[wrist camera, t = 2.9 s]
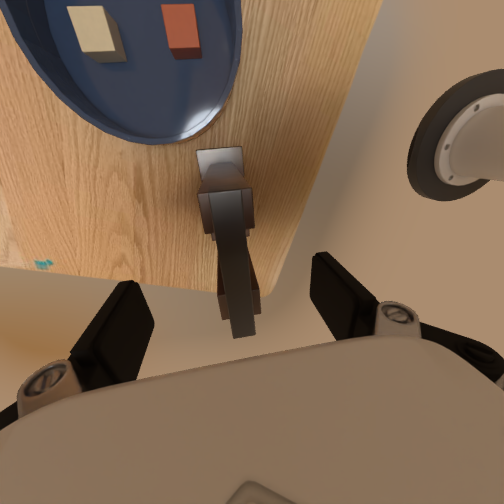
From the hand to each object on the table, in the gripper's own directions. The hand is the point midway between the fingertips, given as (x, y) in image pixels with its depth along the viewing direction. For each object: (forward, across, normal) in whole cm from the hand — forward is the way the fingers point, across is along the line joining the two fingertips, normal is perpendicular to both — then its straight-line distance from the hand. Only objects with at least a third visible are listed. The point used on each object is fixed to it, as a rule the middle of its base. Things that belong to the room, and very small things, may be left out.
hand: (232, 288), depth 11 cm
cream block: (+22, +9, -17) cm, 29 cm away
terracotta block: (+22, +1, -17) cm, 28 cm away
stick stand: (+22, -1, 0) cm, 22 cm away
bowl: (+22, +5, -17) cm, 29 cm away
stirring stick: (+2, 0, 0) cm, 2 cm away
